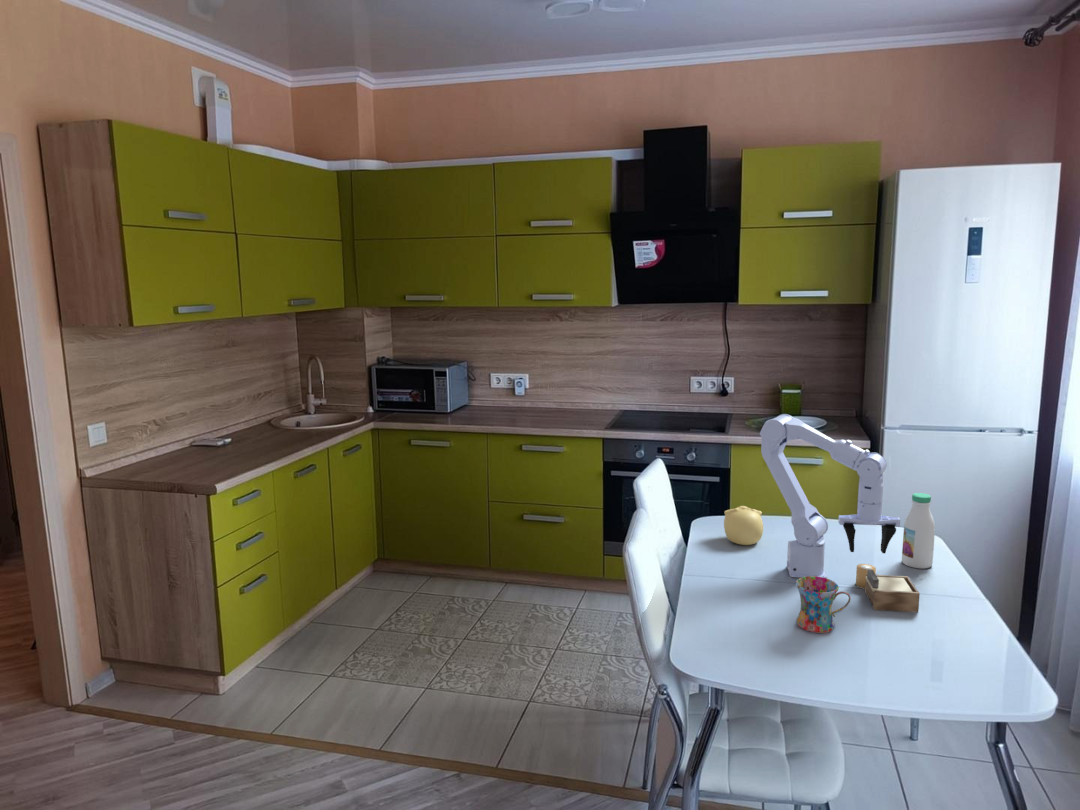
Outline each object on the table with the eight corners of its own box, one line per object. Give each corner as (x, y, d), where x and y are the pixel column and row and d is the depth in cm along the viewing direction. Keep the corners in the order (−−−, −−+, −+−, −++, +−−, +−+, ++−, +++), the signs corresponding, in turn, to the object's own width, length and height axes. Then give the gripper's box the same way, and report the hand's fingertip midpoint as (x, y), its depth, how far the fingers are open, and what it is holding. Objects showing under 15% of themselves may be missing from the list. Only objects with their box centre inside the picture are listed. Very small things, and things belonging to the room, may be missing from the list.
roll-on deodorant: (857, 588, 199) (858, 570, 198) (854, 581, 203) (855, 563, 202) (876, 589, 198) (877, 570, 197) (872, 582, 202) (873, 564, 201)
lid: (872, 591, 187) (873, 581, 186) (865, 577, 195) (866, 567, 194) (912, 593, 185) (913, 583, 185) (903, 579, 193) (904, 569, 193)
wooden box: (874, 609, 187) (875, 591, 186) (865, 592, 196) (866, 574, 195) (918, 612, 185) (919, 593, 184) (906, 594, 195) (908, 576, 194)
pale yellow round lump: (759, 534, 239) (760, 501, 237) (765, 549, 227) (766, 514, 225) (721, 534, 240) (722, 501, 238) (726, 548, 228) (727, 513, 226)
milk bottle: (931, 560, 215) (936, 492, 211) (932, 571, 208) (938, 500, 204) (901, 557, 218) (906, 489, 215) (901, 567, 211) (906, 497, 208)
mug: (795, 634, 176) (796, 590, 174) (793, 616, 185) (795, 574, 183) (851, 639, 173) (853, 595, 171) (846, 621, 182) (848, 578, 180)
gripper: (843, 505, 194) (840, 555, 196) (904, 506, 191) (901, 558, 194) (837, 496, 201) (835, 545, 203) (897, 498, 198) (894, 548, 200)
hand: (867, 551), depth 199 cm, fingers open, 7 cm apart
